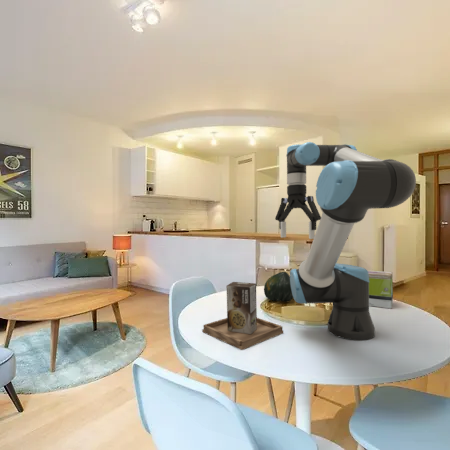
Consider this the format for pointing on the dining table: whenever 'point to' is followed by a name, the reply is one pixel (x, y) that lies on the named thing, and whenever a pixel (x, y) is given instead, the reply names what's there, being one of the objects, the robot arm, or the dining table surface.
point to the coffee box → (241, 307)
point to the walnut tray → (242, 339)
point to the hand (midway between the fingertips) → (297, 238)
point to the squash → (278, 287)
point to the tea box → (380, 289)
